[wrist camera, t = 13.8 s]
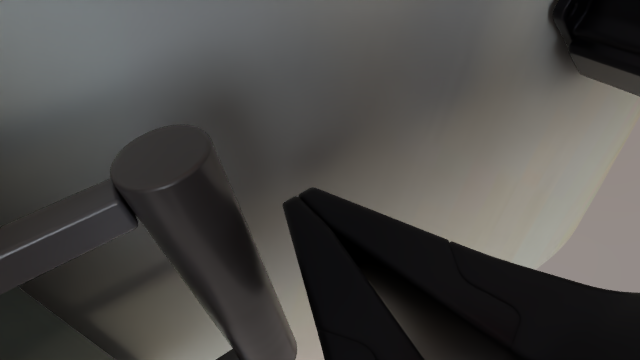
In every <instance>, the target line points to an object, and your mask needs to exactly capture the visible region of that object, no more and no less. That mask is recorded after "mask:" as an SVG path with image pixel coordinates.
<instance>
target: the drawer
mask: <svg viewBox="0 0 640 360" xmlns="http://www.w3.org/2000/svg"><path fill="white" fill-rule="evenodd" d="M110 176H111V179H108V180H105V181H103V182H101V183H99V184H96V185H94V186H92V187H90V188H87V189H85V190H83V191H80V192H78V193H76V194H74V195H71V196H69V197H67V198H65V199H62V200H60V201H58V202H56V203H53V204H51V205H49V206H47V207H44V208H42V209H40V210H38V211H35V212H33V213H31V214H28V215H26V216H24V217H22V218H19V219H17V220H15V221H13V222H10V223H8V224H6V225H4V226H1V227H0V360H115V359H114V358H113V357H111V356H110V355H109V354H107V353H106V352H105V351H103V350H102V349H101V348H99V347H98V346H97V345H95V344H94V343H93V342H91V341H90V340H89V339H87V338H86V337H85V336H83V335H82V334H81V333H79V332H78V331H77V330H75V329H74V328H73V327H71V326H70V325H69V324H67V323H66V322H65V321H63V320H62V319H61V318H59V317H58V316H57V315H55V314H54V313H53V312H51V311H50V310H49V309H47V308H46V307H45V306H43V305H42V304H41V303H39V302H38V301H36V300H35V299H34V298H32V297H31V296H30V295H28V294H27V293H26V292H24V291H23V290H22V289H20V288H19V287H18V286H20V285H22V284H24V283H26V282H28V281H30V280H32V279H34V278H36V277H38V276H40V275H42V274H44V273H46V272H48V271H50V270H52V269H54V268H56V267H58V266H60V265H62V264H64V263H66V262H69V261H71V260H73V259H75V258H77V257H79V256H81V255H83V254H85V253H87V252H89V251H91V250H93V249H95V248H97V247H99V246H101V245H103V244H105V243H107V242H109V241H111V240H113V239H115V238H117V237H119V236H121V235H123V234H125V233H128V232H130V231H132V230H134V229H135V228H136V227H138V221H137V218H136V216H137V217H138V219H139V220H140V221H141V223H142V224H143V226H144V227H145V228H146V230H147V231H148V232H149V234H150V235H151V237H152V238H153V239H154V241H155V242H156V243H157V245H158V246H159V248H160V249H161V250H162V252H163V253H164V254H165V256H166V257H167V259H168V260H169V261H170V263H171V264H172V265H173V267H174V268H175V270H176V271H177V272H178V274H179V275H180V276H181V278H182V279H183V281H184V282H185V283H186V285H187V286H188V287H189V289H190V290H191V292H192V293H193V294H194V296H195V297H196V298H197V300H198V301H199V303H200V304H201V305H202V307H203V308H204V309H205V311H206V312H207V314H208V315H209V316H210V318H211V319H212V320H213V322H214V323H215V325H216V326H217V327H218V329H219V330H220V331H221V333H222V334H223V336H224V337H225V338H226V340H227V341H228V342H229V344H230V345H231V347H232V348H233V349H232V350H230V351H229V352H227V353H225V354H224V355H222V356H221V357H219V358H218V359H216V360H295V358H296V355H297V344H296V340H295V338H294V335H293V333H292V331H291V328H290V326H289V323H288V321H287V319H286V316H285V314H284V312H283V309H282V307H281V304H280V302H279V300H278V297H277V295H276V293H275V290H274V288H273V285H272V283H271V281H270V278H269V276H268V274H267V271H266V269H265V266H264V264H263V262H262V259H261V257H260V255H259V252H258V250H257V247H256V245H255V243H254V240H253V238H252V236H251V233H250V231H249V228H248V226H247V224H246V221H245V219H244V217H243V214H242V212H241V210H240V207H239V205H238V202H237V200H236V198H235V195H234V193H233V191H232V188H231V186H230V183H229V181H228V179H227V176H226V174H225V172H224V169H223V167H222V164H221V162H220V160H219V157H218V155H217V153H216V150H215V148H214V145H213V143H212V141H211V139H210V137H209V135H208V134H207V133H206V132H204V131H203V130H202V129H200V128H198V127H195V126H191V125H172V126H166V127H162V128H159V129H155V130H153V131H150V132H148V133H146V134H143V135H142V136H140V137H138V138H136V139H135V140H133V141H132V142H130V143H129V144H128V145H126V146H125V147H124V148H123V149H122V150H121V151H120V152H119V153H118V155H117V156H116V157H115V159H114V161H113V163H112V165H111V169H110Z"/></svg>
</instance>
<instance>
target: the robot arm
mask: <svg viewBox="0 0 640 360" xmlns="http://www.w3.org/2000/svg"><path fill="white" fill-rule="evenodd" d="M553 20H554V22H555V23H556V25H557V27H558V29H559V31H560V33H561V35H562V37H563V39H564V41H565V43H566V45H567V47H568V50H569V54H570V56H571V58H572V60H573V61H574V63H575V65H576V67H577V69H578V71H579V73H580V74H581V75H583V76H586V77H589V78H591V79H594V80H597V81H600V82H602V83H605V84H608V85H610V86H613V87H616V88H618V89H621V90H624V91H627V92H629V93H632V94H635V95H637V96H640V0H559V1H558V3H557V4H556V6H555V8H554V11H553ZM283 209H284V213H285V217H286V220H287V224H288V227H289V231H290V235H291V238H292V242H293V245H294V249H295V253H296V256H297V260H298V263H299V267H300V271H301V274H302V278H303V281H304V285H305V289H306V292H307V296H308V299H309V303H310V307H311V310H312V314H313V317H314V321H315V325H316V328H317V331H318V336H319V340H320V343H321V347H322V351H323V355H324V359H325V360H640V293H631V292H619V291H612V290H606V289H601V288H596V287H592V286H589V285H584V284H581V283H578V282H575V281H571V280H568V279H564V278H561V277H558V276H554V275H550V274H547V273H544V272H541V271H537V270H534V269H530V268H527V267H524V266H520V265H517V264H514V263H511V262H508V261H504V260H501V259H498V258H495V257H492V256H489V255H486V254H484V253H481V252H478V251H476V250H473V249H470V248H467V247H465V246H462V245H460V244H457V243H455V242H450V243H449V241H448V240H447V239H444V238H442V237H439V236H437V235H434V234H432V233H429V232H426V231H424V230H421V229H419V228H416V227H414V226H411V225H409V224H406V223H404V222H401V221H399V220H396V219H393V218H391V217H388V216H386V215H383V214H381V213H378V212H376V211H373V210H371V209H368V208H366V207H363V206H360V205H358V204H355V203H353V202H350V201H348V200H345V199H343V198H340V197H338V196H335V195H333V194H330V193H327V192H325V191H322V190H320V189H317V188H310V189H308V190H306V191H304V192H302V193H300V194H299V196H295V197H293V198H291V199H289V200H287V201H285V202H284V203H283Z"/></svg>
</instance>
